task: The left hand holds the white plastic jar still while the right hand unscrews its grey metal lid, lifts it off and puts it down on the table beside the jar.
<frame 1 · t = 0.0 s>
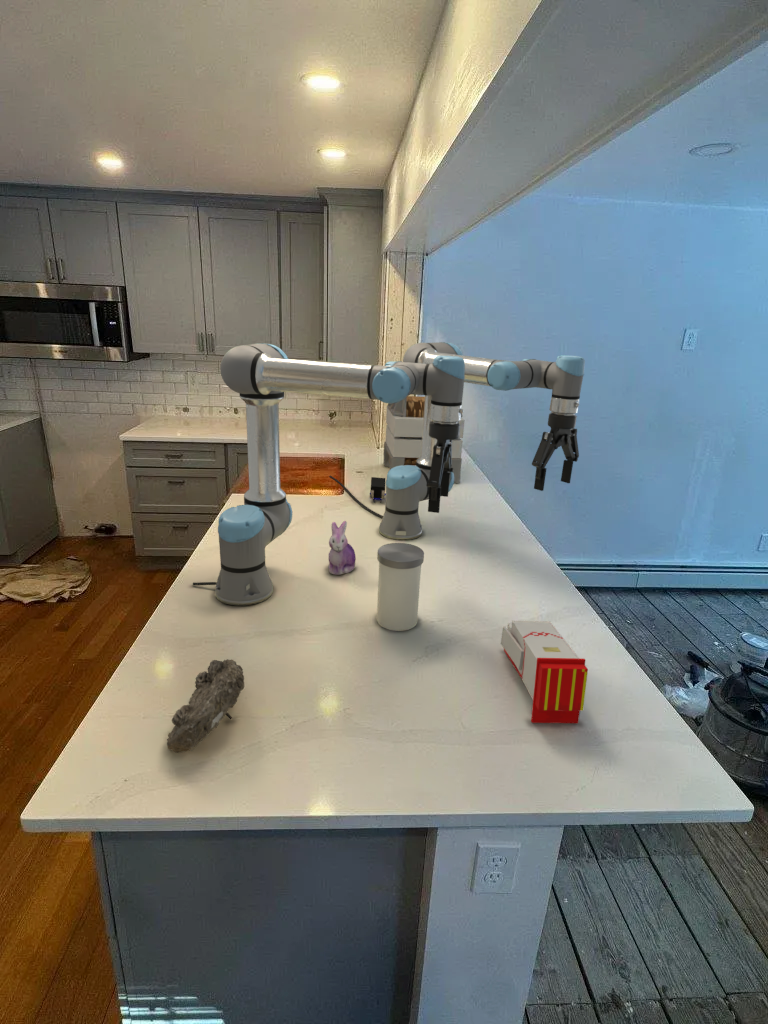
left hand: (438, 503, 146), 28 cm above the counter, tool pointing down, fingers open, 13 cm apart
right hand: (552, 485, 166), 28 cm above the counter, tool pointing down, fingers open, 13 cm apart
figurine character: (377, 499, 235), on the counter
figurine: (341, 569, 171), on the counter
jar: (396, 620, 145), on the counter
lid: (400, 553, 138), point 19 cm above the counter, screwed on, not yet turned
toy: (534, 680, 123), on the counter
white slatted crate: (419, 473, 275), on the counter
fossil: (212, 717, 108), on the counter
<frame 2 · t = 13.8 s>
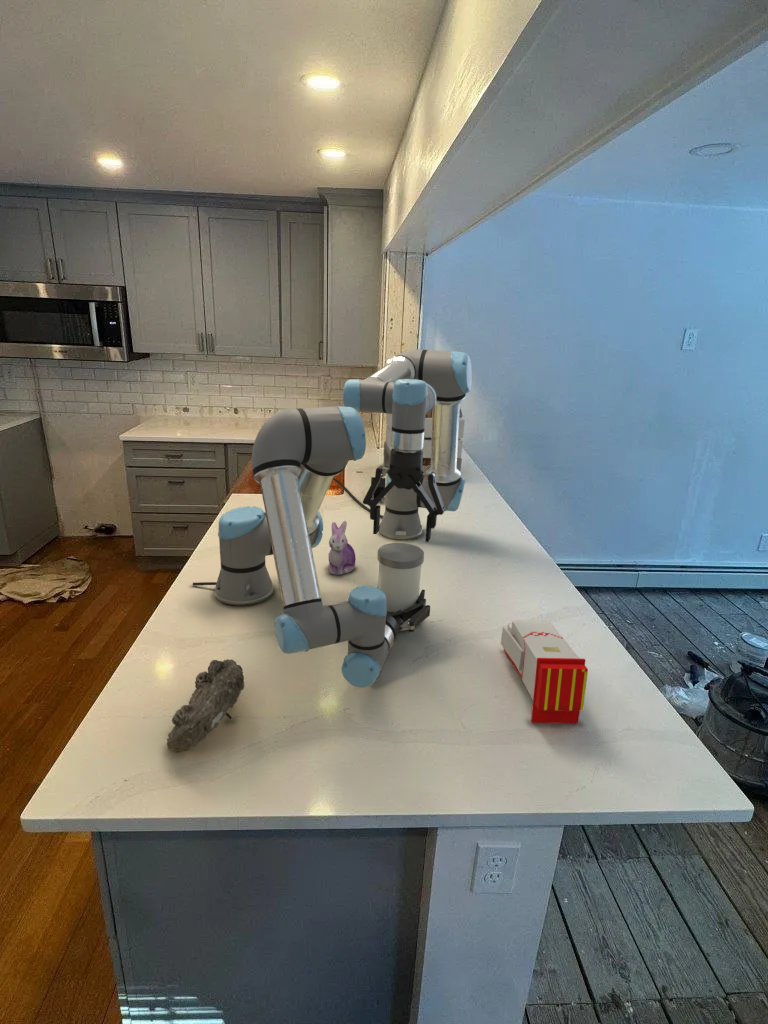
left hand: (402, 590, 146), 6 cm above the counter, tool horizontal, fingers closed on jar, 10 cm apart
right hand: (401, 536, 137), 23 cm above the counter, tool pointing down, fingers open, 12 cm apart
jar: (396, 620, 145), on the counter, touching left hand
everything else where it was.
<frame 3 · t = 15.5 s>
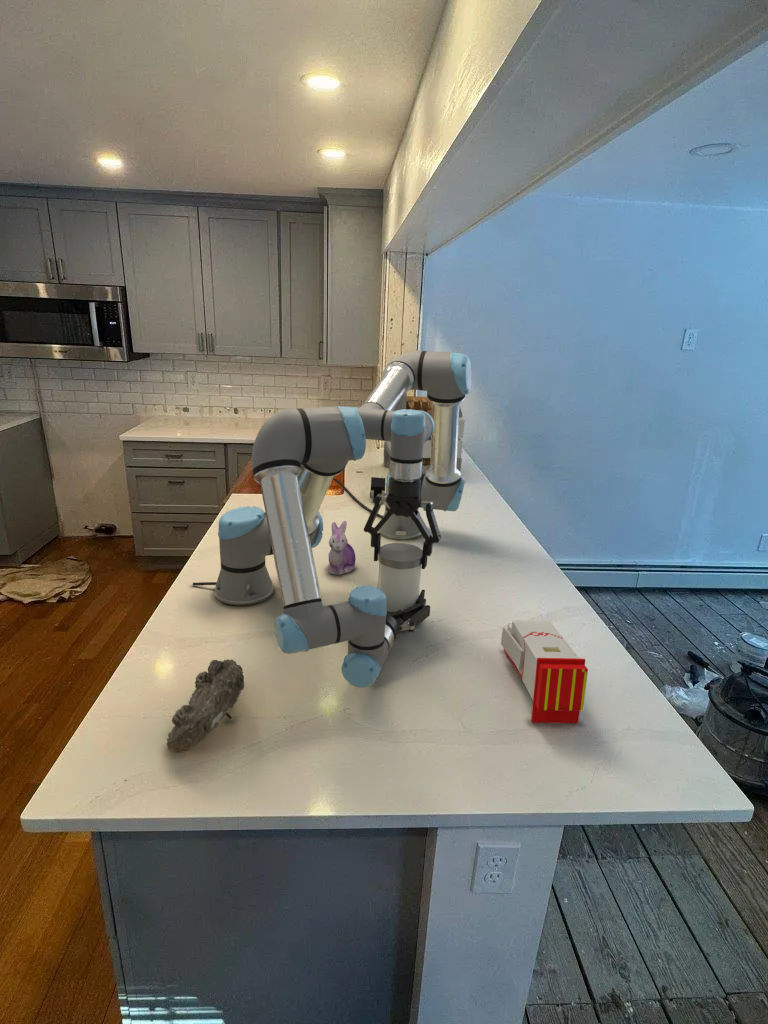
left hand: (402, 590, 146), 6 cm above the counter, tool horizontal, fingers closed on jar, 10 cm apart
right hand: (400, 563, 139), 16 cm above the counter, tool pointing down, fingers closed on lid, 11 cm apart
jar: (396, 620, 145), on the counter, touching left hand
lid: (400, 553, 138), point 19 cm above the counter, screwed on, not yet turned, touching right hand
everything else where it was.
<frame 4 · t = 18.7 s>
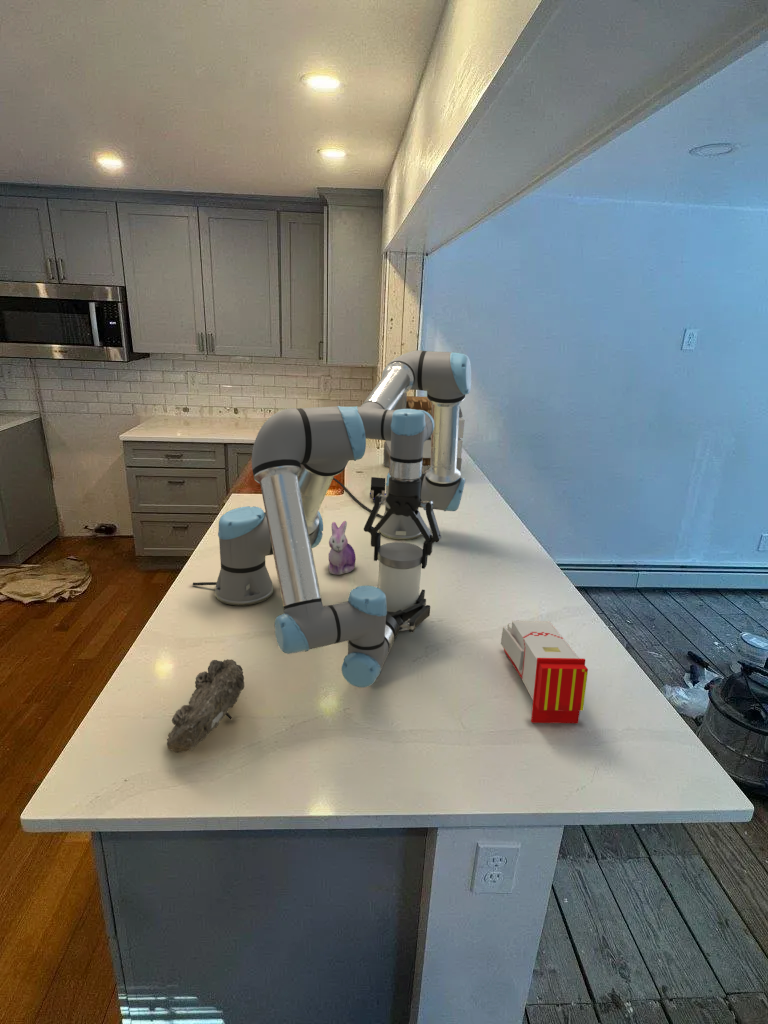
left hand: (402, 590, 146), 6 cm above the counter, tool horizontal, fingers closed on jar, 10 cm apart
right hand: (400, 562, 139), 16 cm above the counter, tool pointing down, fingers closed on lid, 11 cm apart
jar: (396, 620, 145), on the counter, touching left hand
lid: (400, 552, 138), point 19 cm above the counter, turned 118° so far, risen 0.2 cm, still on its thread, touching right hand
everything else where it was.
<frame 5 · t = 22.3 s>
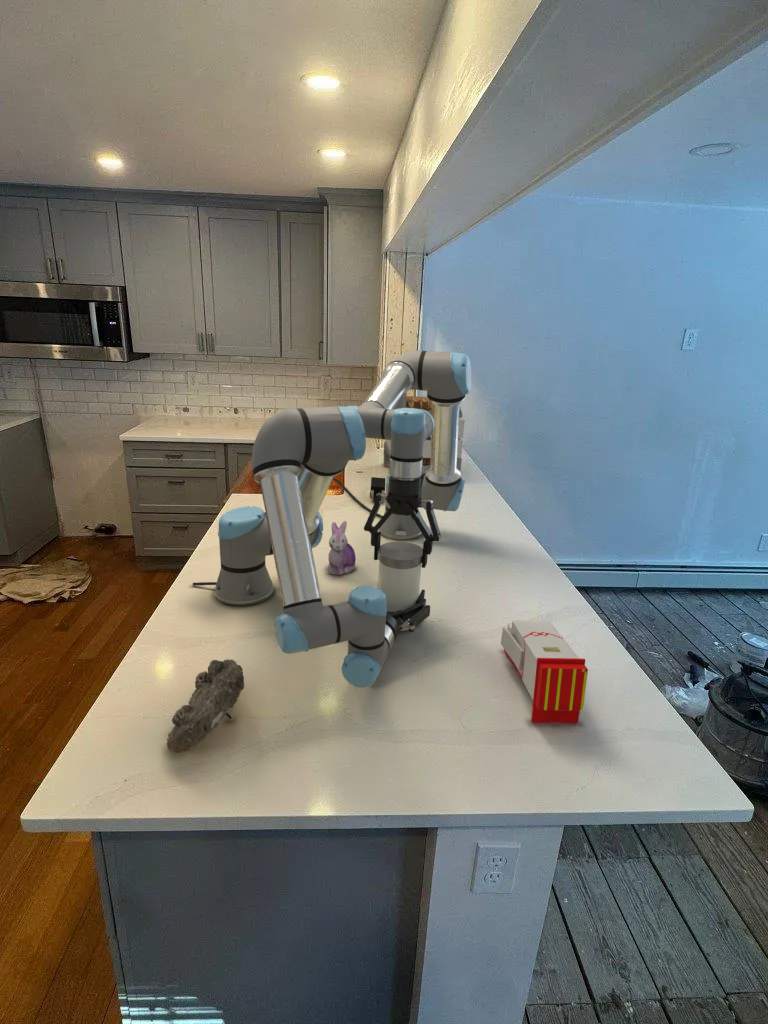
left hand: (402, 590, 146), 6 cm above the counter, tool horizontal, fingers closed on jar, 10 cm apart
right hand: (400, 561, 139), 16 cm above the counter, tool pointing down, fingers closed on lid, 11 cm apart
jar: (396, 620, 145), on the counter, touching left hand
lid: (400, 551, 138), point 19 cm above the counter, turned 236° so far, risen 0.4 cm, still on its thread, touching right hand
everything else where it was.
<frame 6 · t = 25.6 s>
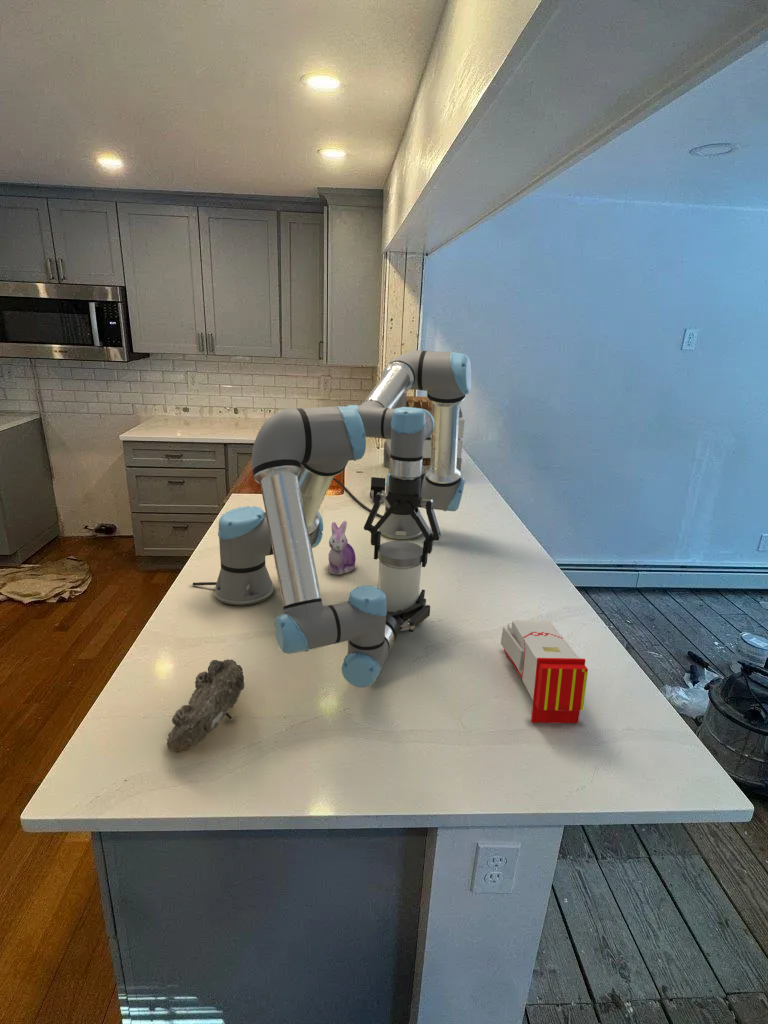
left hand: (402, 590, 146), 6 cm above the counter, tool horizontal, fingers closed on jar, 10 cm apart
right hand: (400, 561, 139), 17 cm above the counter, tool pointing down, fingers closed on lid, 11 cm apart
jar: (396, 620, 145), on the counter, touching left hand
lid: (400, 551, 138), point 19 cm above the counter, turned 353° so far, risen 0.6 cm, still on its thread, touching right hand
everything else where it was.
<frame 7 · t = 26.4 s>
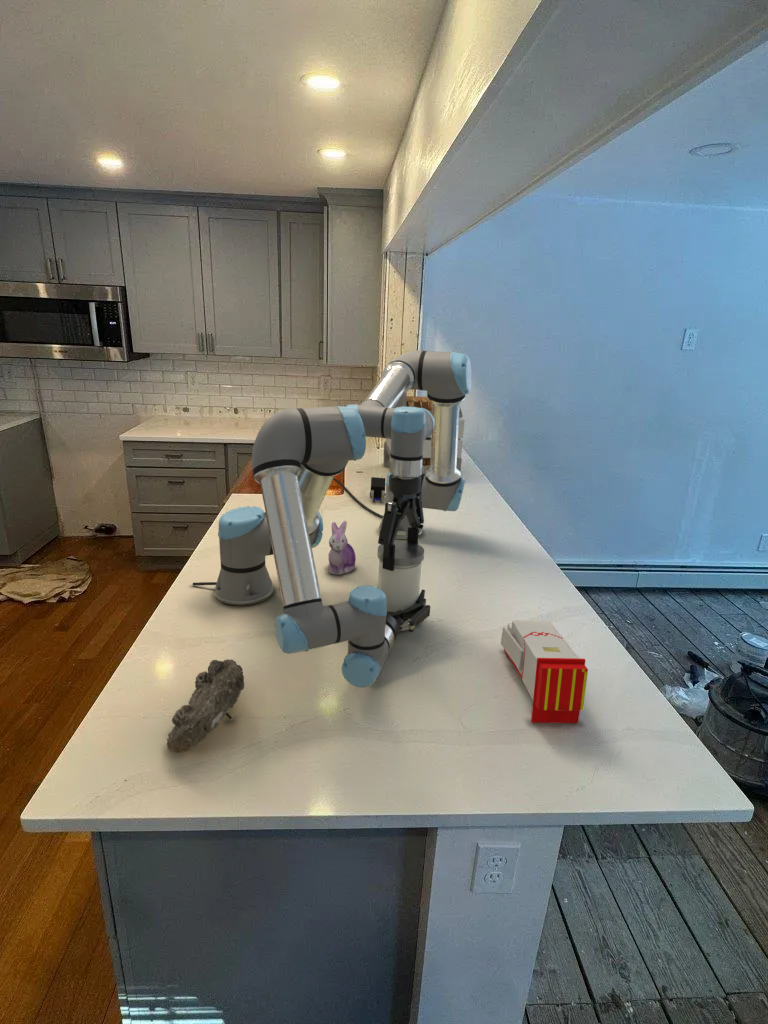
left hand: (402, 590, 146), 6 cm above the counter, tool horizontal, fingers closed on jar, 10 cm apart
right hand: (400, 560, 139), 17 cm above the counter, tool pointing down, fingers closed on lid, 11 cm apart
jar: (396, 620, 145), on the counter, touching left hand
lid: (401, 550, 138), point 19 cm above the counter, turned 429° so far, risen 0.7 cm, still on its thread, touching right hand
everything else where it was.
when the right hand's fingers open (0 cm above the counter, at t = 33.9 s): lid drops 2 cm, point 2 cm above the counter.
when the left hand's fingers open (6 cm above the counter, at t = 34.9 s): jar stays where it is, on the counter.
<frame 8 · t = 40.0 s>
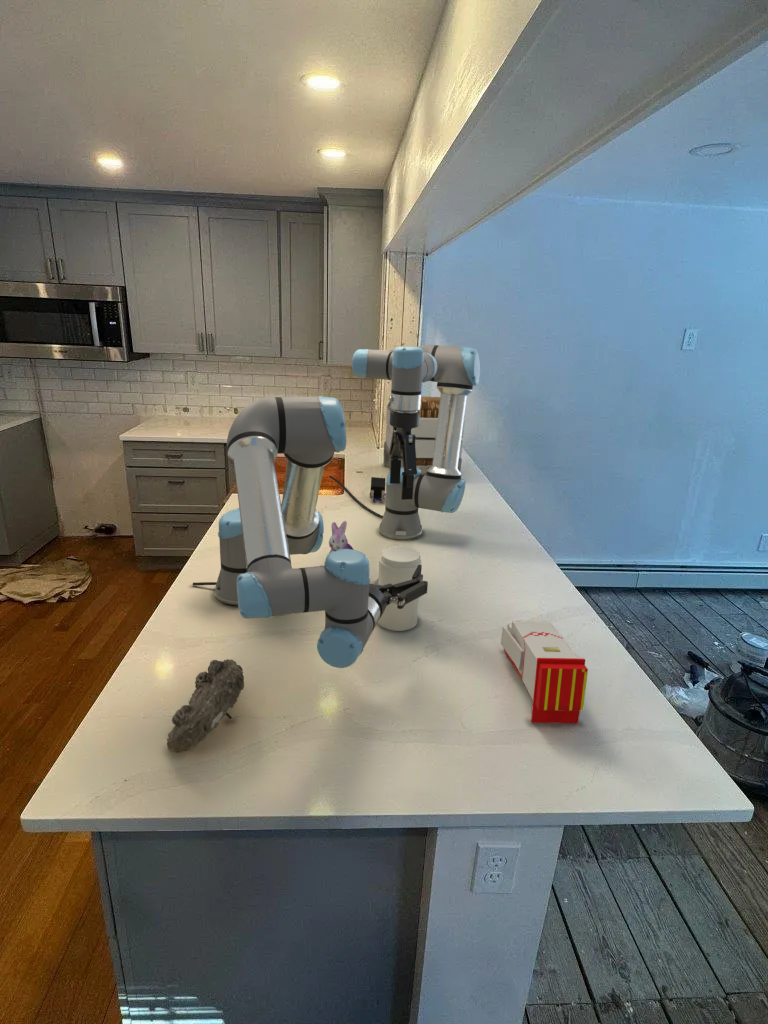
left hand: (390, 565, 129), 20 cm above the counter, tool horizontal, fingers open, 13 cm apart
right hand: (400, 490, 150), 29 cm above the counter, tool pointing down, fingers open, 13 cm apart
jar: (396, 620, 145), on the counter
lid: (395, 585, 159), point 2 cm above the counter, off its thread
everything else where it was.
at the end: lid came off its thread; lid point 1.6 cm above the counter; the left hand is holding nothing; the right hand is holding nothing; jar tilted 0°; jar moved 0.0 cm from its start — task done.
